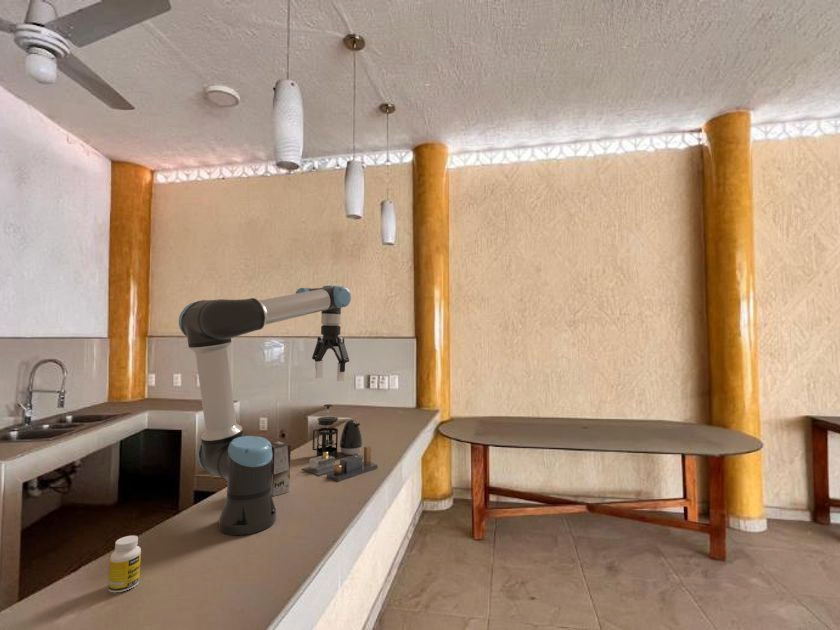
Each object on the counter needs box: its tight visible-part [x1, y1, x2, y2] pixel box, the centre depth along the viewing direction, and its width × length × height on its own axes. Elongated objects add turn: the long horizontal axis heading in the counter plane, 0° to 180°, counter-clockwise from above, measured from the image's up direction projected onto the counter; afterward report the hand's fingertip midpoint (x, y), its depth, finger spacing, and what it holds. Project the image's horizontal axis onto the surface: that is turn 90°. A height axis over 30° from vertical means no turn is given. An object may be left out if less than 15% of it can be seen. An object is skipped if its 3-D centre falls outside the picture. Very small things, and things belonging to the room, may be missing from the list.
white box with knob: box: [309, 452, 336, 472], centre depth 163 cm, size 8×6×6 cm
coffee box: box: [269, 439, 292, 497], centre depth 141 cm, size 9×6×16 cm
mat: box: [301, 466, 334, 477], centre depth 163 cm, size 11×11×1 cm
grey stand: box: [326, 445, 379, 483], centre depth 160 cm, size 20×7×8 cm, turn 140°
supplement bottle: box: [107, 535, 142, 593], centre depth 87 cm, size 5×5×10 cm
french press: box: [312, 404, 339, 460], centre depth 180 cm, size 12×9×23 cm
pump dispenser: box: [339, 419, 363, 456], centre depth 185 cm, size 10×10×15 cm
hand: (329, 379), depth 159 cm, fingers open, 13 cm apart
